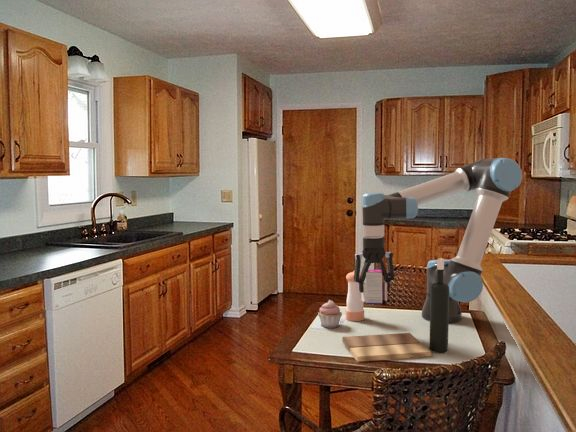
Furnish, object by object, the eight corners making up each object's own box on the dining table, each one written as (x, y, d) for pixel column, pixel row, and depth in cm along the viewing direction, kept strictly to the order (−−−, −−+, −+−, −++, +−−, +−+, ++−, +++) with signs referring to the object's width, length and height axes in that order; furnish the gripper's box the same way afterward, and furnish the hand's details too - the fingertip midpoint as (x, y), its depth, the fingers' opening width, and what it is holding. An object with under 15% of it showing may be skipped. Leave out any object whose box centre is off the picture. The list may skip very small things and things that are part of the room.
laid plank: (420, 347, 169) (420, 343, 169) (431, 356, 161) (431, 351, 161) (349, 352, 165) (349, 347, 165) (357, 361, 157) (357, 356, 157)
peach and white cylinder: (367, 317, 204) (367, 270, 202) (359, 322, 198) (359, 273, 196) (350, 315, 208) (350, 268, 206) (342, 319, 202) (342, 271, 200)
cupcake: (320, 321, 200) (320, 295, 199) (344, 323, 197) (344, 297, 196) (314, 328, 191) (314, 301, 190) (339, 330, 188) (339, 303, 187)
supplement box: (383, 304, 181) (382, 272, 180) (365, 304, 182) (364, 272, 181) (383, 300, 187) (382, 269, 185) (366, 300, 188) (365, 269, 187)
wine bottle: (451, 352, 165) (453, 259, 163) (435, 353, 164) (437, 260, 161) (441, 346, 171) (443, 256, 168) (425, 347, 169) (427, 257, 166)
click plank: (349, 351, 166) (349, 346, 165) (342, 341, 174) (342, 336, 173) (419, 346, 170) (419, 342, 170) (409, 337, 178) (409, 332, 177)
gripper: (396, 234, 188) (396, 295, 190) (343, 236, 184) (344, 299, 186) (404, 236, 180) (405, 300, 182) (349, 239, 177) (350, 305, 179)
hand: (374, 300), depth 184 cm, fingers closed on supplement box, 7 cm apart
